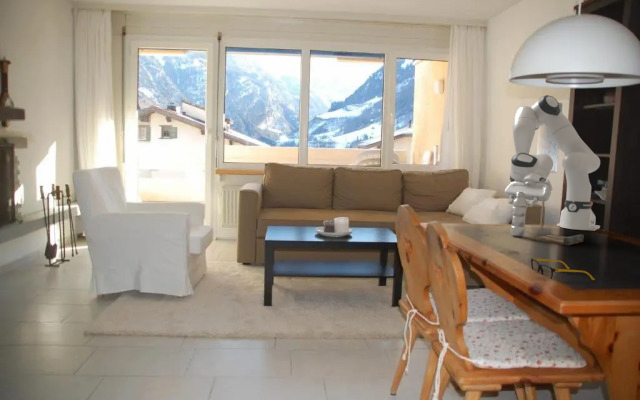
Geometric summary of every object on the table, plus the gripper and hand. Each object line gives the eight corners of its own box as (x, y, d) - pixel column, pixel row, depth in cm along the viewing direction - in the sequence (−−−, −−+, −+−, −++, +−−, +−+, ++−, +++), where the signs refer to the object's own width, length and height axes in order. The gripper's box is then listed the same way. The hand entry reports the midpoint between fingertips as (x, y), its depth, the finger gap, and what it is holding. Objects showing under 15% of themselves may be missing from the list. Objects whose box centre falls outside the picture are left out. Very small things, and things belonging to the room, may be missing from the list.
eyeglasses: (527, 269, 170) (528, 257, 169) (569, 270, 171) (570, 258, 170) (549, 280, 156) (550, 268, 155) (595, 281, 157) (596, 268, 156)
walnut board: (551, 236, 234) (551, 230, 234) (583, 241, 223) (583, 234, 223) (534, 240, 223) (535, 233, 223) (567, 245, 213) (567, 238, 213)
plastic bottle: (510, 237, 229) (513, 192, 227) (509, 234, 236) (512, 191, 233) (525, 238, 227) (529, 193, 225) (524, 235, 234) (527, 192, 232)
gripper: (510, 176, 244) (497, 197, 239) (552, 179, 229) (539, 202, 223) (514, 185, 247) (501, 206, 242) (555, 189, 232) (543, 212, 227)
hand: (520, 204), depth 233 cm, fingers open, 8 cm apart
